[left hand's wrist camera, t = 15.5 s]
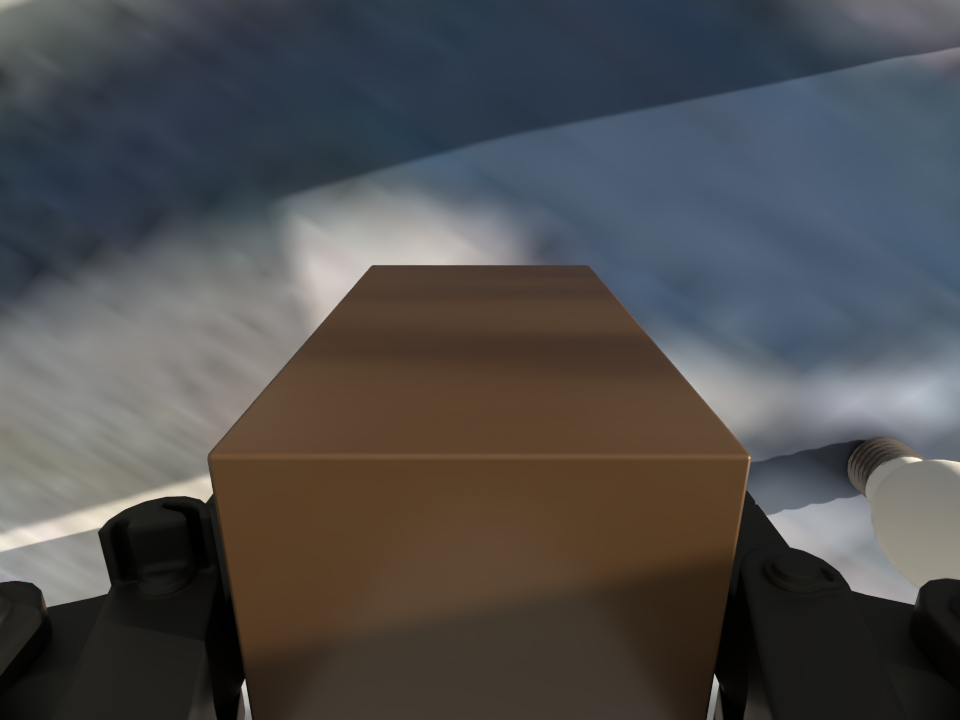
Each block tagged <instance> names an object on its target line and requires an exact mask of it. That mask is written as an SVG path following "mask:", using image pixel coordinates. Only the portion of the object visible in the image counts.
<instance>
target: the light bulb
mask: <svg viewBox="0 0 960 720" xmlns="http://www.w3.org/2000/svg"><path fill="white" fill-rule="evenodd" d="M848 476H849V479H850V481H851V483H852V485H853V486H854V487H855V488H856V489H857V490H858V491H859V492H860V493H862V494H863V495H864V496H865V497H866V498H867V500H868V502H869V503H870V504H871V521H872V526H873V530H874V533H875V537H876V539H877V541H878V543H879V545H880V547H881V548H882V550H883V552H884V554H885V556H886V557H887V558H888V560H889V561H890V562H891V563H892V564H893V566H894V567H895V568H896V569H897V570H898V571H899V573H900V574H901V575H902V576H904V577H905V578H906V579H907V580H908V581H909V582H910V583H912V584H913V585H914V586H916V587H917V588H919V589H920V587H922V586H923V585H924V584H925V583H927V582H928V581H929V580H936V579H943V578H950V579H958V580H960V463H959V462H953V461H947V460H926V459H924V458H923V457H922V456H920V455H918V454H917V453H916V452H914V451H913V450H912V449H910V448H909V447H908V446H906V445H905V444H903V443H902V442H900V441H898V440H895V439H890V438H873V439H870V440H867V441H865V442H864V443H862V444H861V445H859V446H858V447H857V448H856V449H855V450H854V452H853V453H852V455H851V457H850V459H849V462H848Z"/></svg>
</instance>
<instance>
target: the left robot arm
mask: <svg viewBox="0 0 960 720" xmlns="http://www.w3.org/2000/svg"><path fill="white" fill-rule="evenodd" d="M98 534H99V538H100V542H101V546H102V550H103V554H104V558H105V562H106V566H107V570H108V574H109V577H110V581H111V585H112V586H111V588H110V590H109V592H108V594H105V595H101V596H98V597H94V598H90V599H85V600H80V601H75V602H71V603H66V604H61V605H57V606H52V607H46V604H45V601H44V598H43V594H42V591H41V590H40V589H39V588H38V587H36V586H35V585H34V584H33V583H28V582H21V581H9V582H1V583H0V720H244V719H245V707H244V700H243V694H242V688H241V686H242V684H243V682H244V679H245V675H244V669H243V663H242V657H241V651H240V645H239V640H238V634H237V628H236V622H235V616H234V611H233V605H232V599H231V593H230V587H229V581H228V576H227V570H226V564H225V558H224V552H223V546H222V541H221V535H220V529H219V523H218V517H217V512H216V506H215V500H214V494H212V496H211V497H210V498H209V500H208V501H207V502H206V504H205V503H204V502H203V501H201V500H200V499H195V498H191V497H186V496H177V497H163V498H159V499H154V500H150V501H145V502H143V503H140V504H138V505H135V506H133V507H130V508H128V509H125V510H124V511H122V512H120V513H119V514H117V515H116V516H114V517H113V518H111V519H110V520H108V521H107V522H106V524H105V525H104V526H103V527H102V528H101V529H100V530H99V532H98ZM715 675H716V678H717V680H718V682H719V688H718V694H717V700H716V705H715V711H714V716H713V720H960V580H958V579H950V578H943V579H936V580H929V581H928V582H927V583H925V584H924V585H923V586H922V587H920V590H919V593H918V596H917V600H916V603H915V605H912V604H907V603H902V602H897V601H893V600H888V599H883V598H879V597H874V596H869V595H865V594H861V593H858V592H854V591H851V589H850V587H849V585H848V583H847V582H846V580H845V579H844V578H843V576H842V575H841V574H840V572H839V571H838V570H836V569H835V568H833V567H832V566H831V565H829V564H828V563H827V562H825V561H824V560H823V559H820V558H818V557H816V556H814V555H812V554H809V553H807V552H805V551H802V550H798V549H794V548H790V547H789V546H788V544H787V543H786V542H785V540H784V539H783V538H782V536H781V535H780V534H779V532H778V531H777V530H776V528H775V527H774V526H773V524H772V523H771V522H770V520H769V519H768V518H767V516H766V515H765V514H764V512H763V511H762V510H761V508H760V507H759V506H758V505H755V500H754V499H753V498H752V496H751V495H750V494H749V492H748V491H746V493H745V499H744V504H743V510H742V516H741V522H740V528H739V533H738V539H737V545H736V551H735V557H734V563H733V568H732V574H731V580H730V586H729V592H728V597H727V603H726V609H725V615H724V621H723V626H722V632H721V638H720V644H719V650H718V655H717V661H716V667H715Z"/></svg>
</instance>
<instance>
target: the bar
mask: <svg viewBox="0 0 960 720" xmlns="http://www.w3.org/2000/svg"><path fill="white" fill-rule="evenodd" d="M750 464H751V456H750V454H749V453H748V452H747V450H746V449H745V448H744V447H743V446H742V445H741V443H740V442H739V441H738V440H737V439H736V438H735V436H734V435H733V434H732V433H731V432H730V430H729V429H728V428H727V427H726V426H725V425H724V423H723V422H722V421H721V420H720V419H719V418H718V416H717V415H716V414H715V413H714V412H713V411H712V409H711V408H710V407H709V406H708V405H707V404H706V402H705V401H704V400H703V399H702V398H701V397H700V395H699V394H698V393H697V392H696V391H695V389H694V388H693V387H692V386H691V385H690V384H689V382H688V381H687V380H686V379H685V378H684V377H683V375H682V374H681V373H680V372H679V371H678V370H677V368H676V367H675V366H674V365H673V364H672V363H671V361H670V360H669V359H668V358H667V357H666V355H665V354H664V353H663V352H662V351H661V350H660V348H659V347H658V346H657V345H656V344H655V343H654V341H653V340H652V339H651V338H650V337H649V336H648V334H647V333H646V332H645V331H644V330H643V329H642V327H641V326H640V325H639V324H638V323H637V321H636V320H635V319H634V318H633V317H632V316H631V314H630V313H629V312H628V311H627V310H626V309H625V307H624V306H623V305H622V304H621V303H620V302H619V300H618V299H617V298H616V297H615V296H614V295H613V293H612V292H611V291H610V290H609V289H608V287H607V286H606V285H605V284H604V283H603V282H602V280H601V279H600V278H599V277H598V276H597V275H596V273H595V272H594V271H593V270H592V269H591V268H590V266H578V265H373V266H371V267H370V268H369V269H368V271H367V272H366V273H365V274H364V275H363V276H362V277H361V279H360V280H359V281H358V282H357V283H356V284H355V286H354V287H353V288H352V289H351V290H350V291H349V292H348V294H347V295H346V296H345V297H344V298H343V299H342V301H341V302H340V303H339V304H338V305H337V306H336V307H335V309H334V310H333V311H332V312H331V313H330V314H329V316H328V317H327V318H326V319H325V320H324V321H323V322H322V324H321V325H320V326H319V327H318V328H317V329H316V331H315V332H314V333H313V334H312V335H311V336H310V337H309V339H308V340H307V341H306V342H305V343H304V344H303V346H302V347H301V348H300V349H299V350H298V351H297V352H296V354H295V355H294V356H293V357H292V358H291V359H290V361H289V362H288V363H287V364H286V365H285V366H284V367H283V369H282V370H281V371H280V372H279V373H278V374H277V376H276V377H275V378H274V379H273V380H272V381H271V382H270V384H269V385H268V386H267V387H266V388H265V389H264V391H263V392H262V393H261V394H260V395H259V396H258V397H257V399H256V400H255V401H254V402H253V403H252V404H251V406H250V407H249V408H248V409H247V410H246V411H245V412H244V414H243V415H242V416H241V417H240V418H239V419H238V421H237V422H236V423H235V424H234V425H233V426H232V427H231V429H230V430H229V431H228V432H227V433H226V434H225V436H224V437H223V438H222V439H221V440H220V441H219V442H218V444H217V445H216V446H215V447H214V448H213V449H212V451H211V452H210V453H209V455H208V465H209V471H210V477H211V482H212V488H213V494H214V500H215V506H216V512H217V517H218V523H219V529H220V535H221V541H222V546H223V552H224V558H225V564H226V570H227V576H228V581H229V587H230V593H231V599H232V605H233V611H234V616H235V622H236V628H237V634H238V640H239V645H240V651H241V657H242V663H243V669H244V675H245V680H246V686H247V692H248V698H249V704H250V710H251V715H252V720H706V719H707V713H708V708H709V702H710V696H711V690H712V684H713V679H714V673H715V667H716V661H717V655H718V650H719V644H720V638H721V632H722V626H723V621H724V615H725V609H726V603H727V597H728V592H729V586H730V580H731V574H732V568H733V563H734V557H735V551H736V545H737V539H738V533H739V528H740V522H741V516H742V510H743V504H744V499H745V493H746V487H747V481H748V475H749V470H750Z"/></svg>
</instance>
